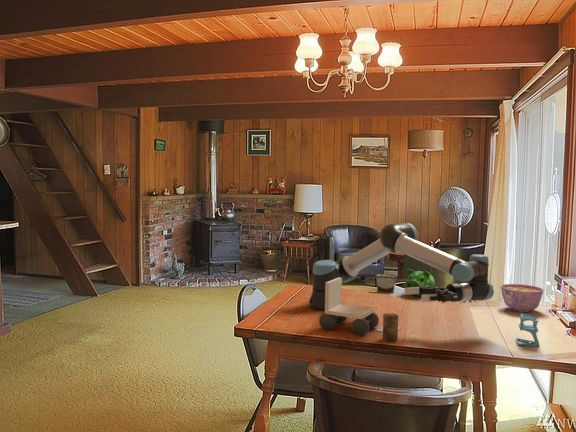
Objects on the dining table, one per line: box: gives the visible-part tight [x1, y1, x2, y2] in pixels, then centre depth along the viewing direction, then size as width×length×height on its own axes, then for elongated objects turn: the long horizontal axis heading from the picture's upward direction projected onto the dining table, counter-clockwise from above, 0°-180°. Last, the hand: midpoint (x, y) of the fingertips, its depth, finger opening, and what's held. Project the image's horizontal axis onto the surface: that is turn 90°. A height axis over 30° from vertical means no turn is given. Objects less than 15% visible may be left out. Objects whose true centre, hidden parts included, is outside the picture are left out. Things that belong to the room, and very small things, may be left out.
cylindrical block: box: [382, 312, 399, 343], centre depth 202 cm, size 6×6×10 cm
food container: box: [375, 273, 397, 294], centre depth 294 cm, size 12×6×10 cm, turn 71°
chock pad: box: [375, 324, 401, 333], centre depth 216 cm, size 8×10×1 cm
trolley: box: [318, 278, 380, 337], centre depth 216 cm, size 22×14×20 cm, turn 61°
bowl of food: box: [500, 283, 545, 313], centre depth 254 cm, size 20×20×12 cm
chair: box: [515, 313, 540, 345], centre depth 199 cm, size 8×8×12 cm
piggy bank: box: [404, 268, 436, 298], centre depth 284 cm, size 14×18×15 cm
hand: (412, 294), depth 204 cm, fingers open, 13 cm apart
